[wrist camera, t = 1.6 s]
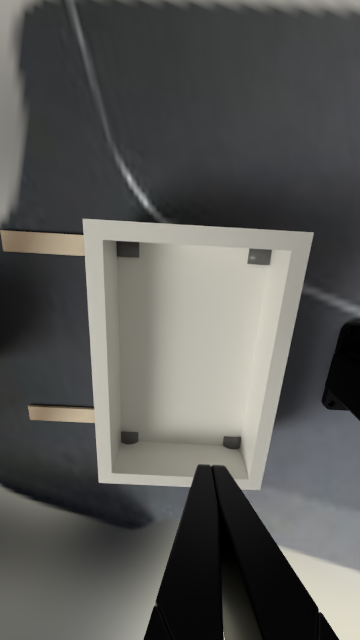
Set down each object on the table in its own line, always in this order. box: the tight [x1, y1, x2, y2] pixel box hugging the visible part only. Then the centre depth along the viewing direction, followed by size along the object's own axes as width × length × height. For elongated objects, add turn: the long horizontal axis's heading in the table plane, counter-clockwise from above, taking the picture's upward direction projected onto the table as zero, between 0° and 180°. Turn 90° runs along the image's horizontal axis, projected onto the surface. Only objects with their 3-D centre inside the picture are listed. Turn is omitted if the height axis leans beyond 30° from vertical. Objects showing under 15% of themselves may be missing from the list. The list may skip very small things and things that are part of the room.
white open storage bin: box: [83, 219, 314, 490], centre depth 14 cm, size 10×15×4 cm, turn 177°
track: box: [0, 230, 95, 423], centre depth 17 cm, size 17×14×1 cm
